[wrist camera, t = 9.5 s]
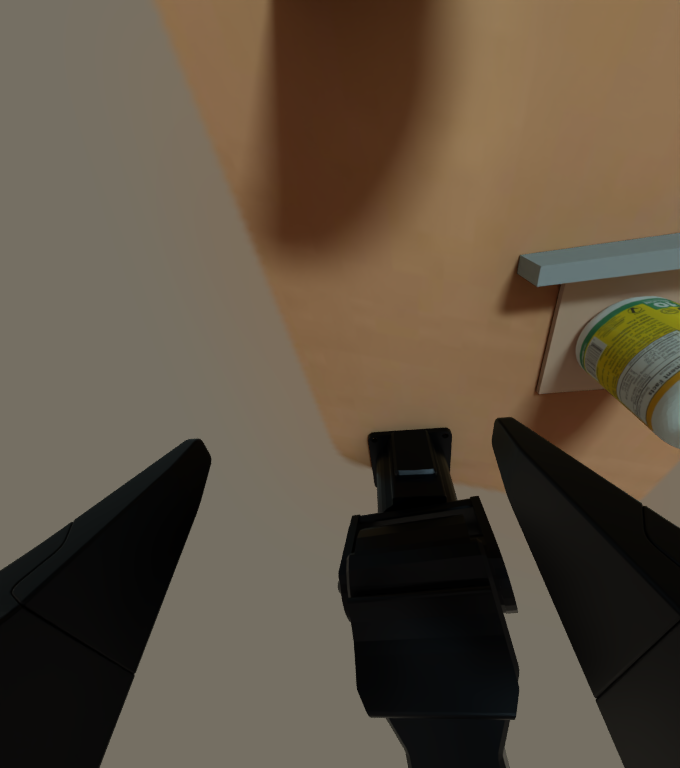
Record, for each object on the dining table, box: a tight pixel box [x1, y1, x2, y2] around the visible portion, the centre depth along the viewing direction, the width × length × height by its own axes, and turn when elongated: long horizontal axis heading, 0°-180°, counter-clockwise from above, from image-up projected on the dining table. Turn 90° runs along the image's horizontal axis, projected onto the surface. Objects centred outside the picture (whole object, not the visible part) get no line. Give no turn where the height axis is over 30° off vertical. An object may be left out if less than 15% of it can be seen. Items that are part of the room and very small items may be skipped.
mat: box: [536, 269, 680, 394], centre depth 19 cm, size 8×8×1 cm
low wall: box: [517, 233, 680, 287], centre depth 15 cm, size 1×13×2 cm, turn 99°
